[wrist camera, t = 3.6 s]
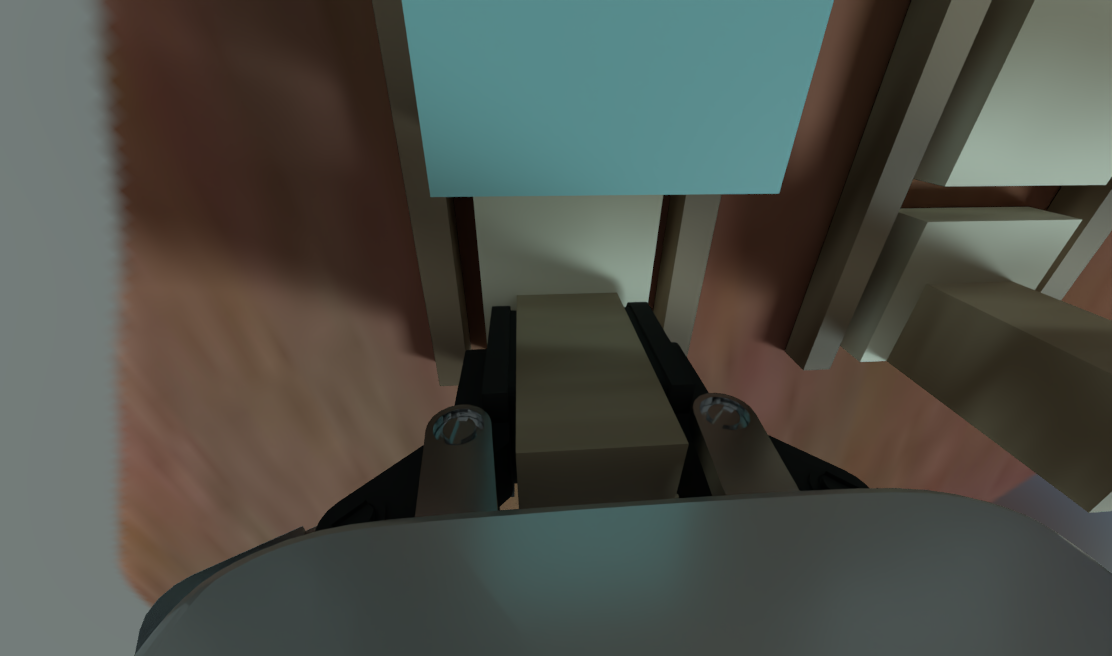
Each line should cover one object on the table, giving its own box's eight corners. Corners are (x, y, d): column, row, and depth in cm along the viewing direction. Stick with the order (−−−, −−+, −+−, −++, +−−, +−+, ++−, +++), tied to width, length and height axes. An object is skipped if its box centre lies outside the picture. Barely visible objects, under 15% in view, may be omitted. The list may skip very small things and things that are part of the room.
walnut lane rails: (985, 343, 16) (1040, 373, 15) (445, 365, 15) (435, 401, 13) (1325, -173, 9) (1510, -232, 8) (347, -237, 8) (298, -329, 6)
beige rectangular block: (951, 334, 16) (1240, 501, 10) (831, 339, 16) (1049, 515, 9) (1028, 206, 13) (1492, 317, 7) (887, 208, 13) (1241, 327, 7)
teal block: (669, 147, 10) (779, 193, 6) (468, 148, 10) (430, 196, 6) (710, -141, 8) (954, -428, 3) (439, -155, 7) (328, -495, 3)
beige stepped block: (628, 346, 15) (709, 540, 9) (492, 351, 15) (473, 558, 8) (683, -109, 9) (1102, -601, 3) (451, -119, 9) (253, -724, 2)
